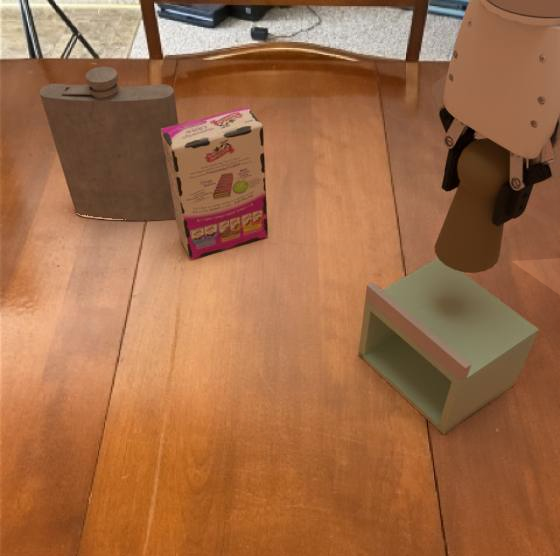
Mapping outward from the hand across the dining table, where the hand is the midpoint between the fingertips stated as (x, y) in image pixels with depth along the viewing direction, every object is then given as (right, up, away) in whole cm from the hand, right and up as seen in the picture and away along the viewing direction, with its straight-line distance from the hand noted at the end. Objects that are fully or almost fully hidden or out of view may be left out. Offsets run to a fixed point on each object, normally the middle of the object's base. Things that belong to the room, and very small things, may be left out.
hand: (480, 199), depth 60 cm
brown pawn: (0, -4, +5) cm, 6 cm away
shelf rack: (0, -15, +16) cm, 22 cm away
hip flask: (-38, +7, +34) cm, 52 cm away
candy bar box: (-25, +2, +31) cm, 40 cm away
